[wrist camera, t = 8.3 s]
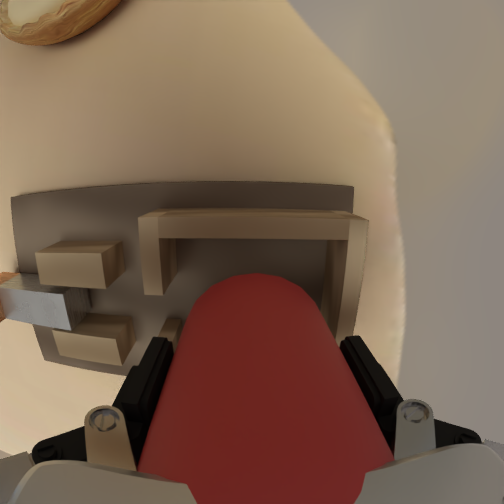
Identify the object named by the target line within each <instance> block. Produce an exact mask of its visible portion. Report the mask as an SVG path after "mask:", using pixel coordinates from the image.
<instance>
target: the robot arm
mask: <svg viewBox="0 0 504 504" xmlns="http://www.w3.org/2000/svg"><path fill="white" fill-rule="evenodd" d="M339 348H340V350H341V352H342V354H343V356H344V358H345V360H346V362H347V364H348V366H349V368H350V369H351V371H352V373H353V375H354V377H355V379H356V381H357V383H358V385H359V387H360V389H361V391H362V393H363V395H364V397H365V399H366V401H367V403H368V405H369V407H370V409H371V411H372V413H373V415H374V417H375V419H376V421H377V423H378V425H379V428H380V430H381V432H382V434H383V436H384V438H385V440H386V442H387V444H388V446H389V448H390V450H391V453H392V455H393V457H394V459H395V461H391V462H387V463H385V464H384V465H383V466H381V467H378V468H376V469H374V470H372V471H369V472H367V473H366V474H365V478H364V483H363V487H362V491H361V493H360V495H359V496H358V498H357V500H356V501H355V503H354V504H504V444H500V443H496V442H493V441H489V440H486V439H485V440H484V441H483V442H481V438H480V437H479V435H478V434H477V433H476V432H474V431H472V430H470V429H467V428H463V427H460V426H456V425H452V424H449V423H446V422H443V421H439V420H436V419H434V416H433V411H432V409H431V407H430V406H429V405H428V404H427V403H425V402H423V401H421V400H416V399H408V400H405V401H404V400H403V398H402V397H401V395H400V394H399V392H398V391H397V389H396V387H395V386H394V384H393V383H392V381H391V380H390V378H389V377H388V375H387V374H386V372H385V371H384V369H383V368H382V366H381V365H380V364H379V363H378V362H377V361H376V359H375V358H374V356H373V355H372V353H371V352H370V350H369V349H368V347H367V346H366V344H365V343H364V341H363V340H362V338H361V337H360V336H346V337H345V339H344V340H341V342H340V347H339ZM173 356H174V351H173V344H172V341H168V339H167V337H153V338H152V339H151V341H150V343H149V345H148V347H147V349H146V351H145V353H144V355H143V357H142V359H141V361H140V363H139V365H138V366H136V365H134V366H132V368H131V369H130V371H129V373H128V375H127V377H126V379H125V381H124V383H123V385H122V387H121V389H120V391H119V393H118V395H117V397H116V399H115V401H114V403H113V405H112V406H109V405H104V406H98V407H95V408H93V409H91V410H90V411H89V412H88V413H87V415H86V416H85V420H84V425H85V426H83V427H80V428H77V429H75V430H72V431H69V432H66V433H63V434H60V435H57V436H54V437H51V438H48V439H45V440H42V441H40V442H38V443H37V444H36V445H35V446H34V448H33V450H32V453H30V454H28V453H27V451H26V452H23V453H20V454H16V455H13V456H10V457H7V458H3V459H0V504H197V502H196V501H195V499H194V497H193V495H192V493H191V491H190V490H189V488H188V486H187V484H184V483H180V482H176V481H173V480H169V479H166V478H164V477H161V476H158V475H156V474H149V473H143V472H137V466H138V463H139V459H140V456H141V453H142V450H143V446H144V443H145V440H146V437H147V433H148V430H149V427H150V424H151V421H152V418H153V415H154V412H155V409H156V405H157V402H158V399H159V396H160V393H161V390H162V387H163V385H164V382H165V379H166V376H167V373H168V370H169V367H170V364H171V361H172V358H173Z"/></svg>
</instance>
